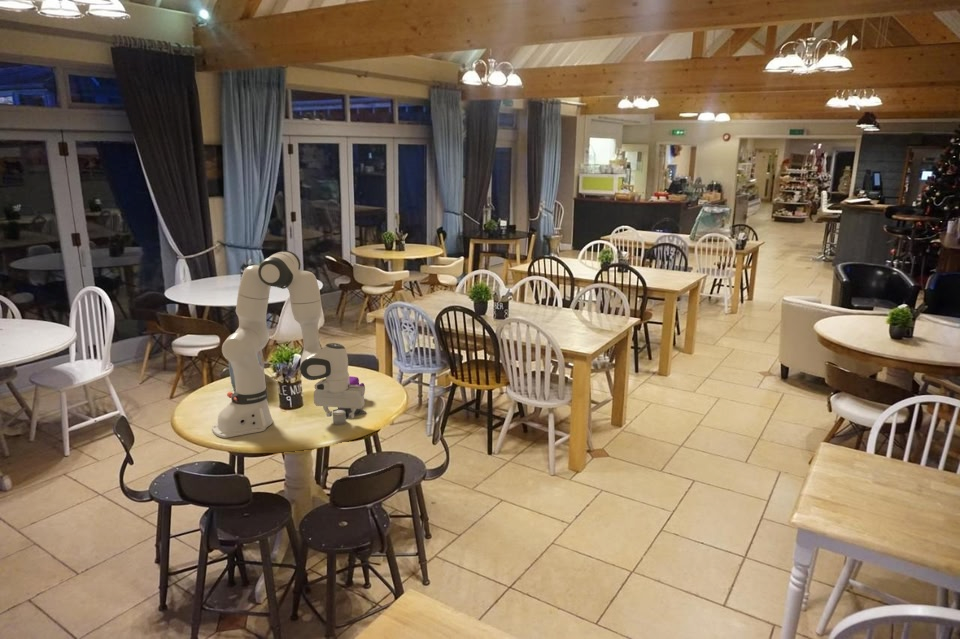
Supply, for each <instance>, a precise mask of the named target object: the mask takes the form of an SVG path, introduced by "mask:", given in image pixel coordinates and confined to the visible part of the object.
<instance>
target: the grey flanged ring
mask: <svg viewBox="0 0 960 639" xmlns="http://www.w3.org/2000/svg"><path fill="white" fill-rule="evenodd" d="M337 410H343V411H345V412H346V420H347V419H350V418H349V414H350V413H352V411H351V408H340V407H337V409H333V410H332V413H333V412H334V411H337ZM364 413H365V414H367V411H366V410H364V409H363V408H361V409H356V411H355V412H354V417H357V416H361V415H365V414H364Z"/></svg>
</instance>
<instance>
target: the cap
mask: <svg viewBox="0 0 960 639" xmlns="http://www.w3.org/2000/svg"><path fill="white" fill-rule="evenodd" d="M332 421H333V422H332V424H333V425H335V426H343V425H345V424H347V419H346V412H345V411H343V410H337V411H334V412H333V411H332Z"/></svg>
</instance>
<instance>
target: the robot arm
mask: <svg viewBox="0 0 960 639" xmlns="http://www.w3.org/2000/svg"><path fill="white" fill-rule="evenodd" d="M301 266H302V264H301V260H300V258H299V256H298V255H297V254H296V253H294V252H292V251H289V250H282V251H278V252H276V253H273V254H271V255H270V256H269V257H266V258H265V259H264V260H262V261H261V263H260V264H259V265H258V264H257V265H256V264H254V265H253V264H252V265H249V266H247V267H246V268H244V270H243V272H242V276H241V278H240V281H239V286H238V290H237V291H238V293H237V298H236V307H235V313H236V315H237V318H238V328H237V329H238V330H237V329H236V330H237V332H233V333H232V334H229V336H228V337H227V338H226V339H225V340H224V342H223V343H222V346H221V353H222V355H223V357H224V358H225V359H226V361H228V363H229V362H230V364H231V366H232V369H233V372H234V378H235V386H236V390H234V392H232V391H228V392H227V397H228V398H229V399H231V402H229V403H228V404H227V405H226V406H225V407H224V408H223V409H222V410H220V412H219V413H218V416H217V423H214V424H213V425H212V427H211V431H212V433H213V434H214V435H215V436H217V437H218V438H222V439H227V438H232V437H237V436H238V437H239V436H243V435H249V434H255V433H260V432H264V431H266V429H267V428H268V427H269V426H271V425H272V424H273V422H274V419H273V417H272V414H271V411H270V407H269V402H268V401H269V394H268V393H269V392H268V387H267V386H266V377H265V376H266V374H265V368H264V369H263V367H261V366H260V364H259V361H258V358H257V353H258V352H259V351H260V350H261V349H262V350H263V349H264V348H265V347H266V346H267V345H268V342H269V340H270V336H271V335H270V330H269V329H268V324H267V322H268V321H267V312H268V305H269V299H270V293H271V292H270V291H271V287H275V288H278V289H282V290H285V289H287V290H288V292H289V300H290V308H291V312H292V315H293V318H294V320H295V321H296V322H297V323H298V324H299V325H300V328H301V336H302V343H303V348H302V352H301V354H300V360H299V361H300V364H299V370H300V373H301V376H302V377H303V378H304V379H307V380H309V381H317V380H318V382H316V383H314V389H315V390H314V392H313V404H314V405H315V406H316V407H322V408H323V411H324V412H325V413H326V417H329V418H330V417H333V410H332V411H331V410H330V409H329V408H338V407H340V408H351V411H352V413H350V414H349V418H348V419H354V418H355V416H354V412H355V411H356V409H363V407H365V404H366V401H365V393H364V391H363V388H362V387H360V386H359V385H350V383H349V376H350V374H349V372H348V371H349V370H348V369H349V368H348V367H349V359H348V351H347V349H346V347H345V346H344V345H342V344H340V343H336V342H335V343H334V342H330V343H326V344H325V346H323V347H322V345H321V340H320V334H319V333H320V332H319V321H320V318H321V316H322V315H321V314H322V300H321V292H320V286H319V283H318V280H317V277H316V275H315V274H314V273H313V272H311V271H309V270H300V269H301ZM363 394H364V395H363Z"/></svg>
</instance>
